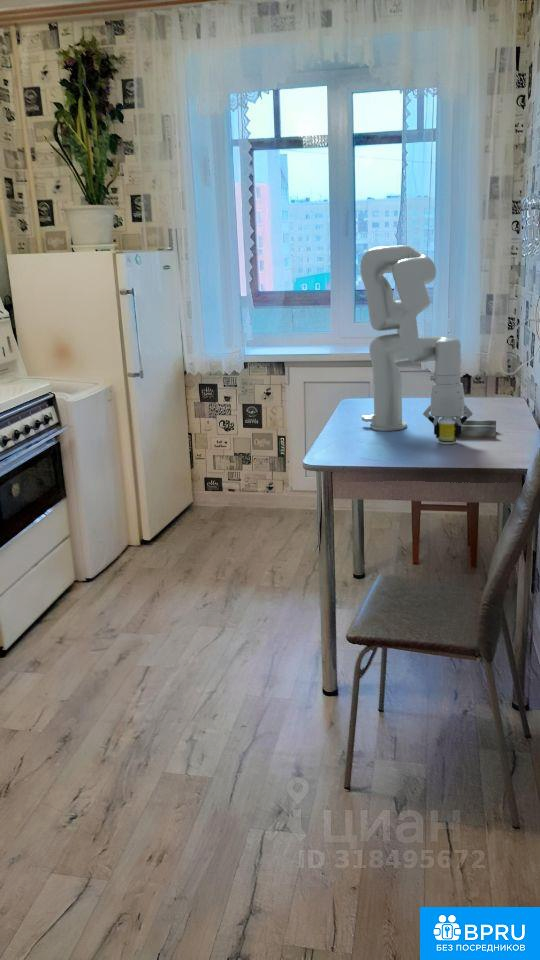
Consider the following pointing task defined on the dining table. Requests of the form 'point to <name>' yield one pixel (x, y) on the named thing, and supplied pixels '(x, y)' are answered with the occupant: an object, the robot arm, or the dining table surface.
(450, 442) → the supplement bottle
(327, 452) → the dining table surface
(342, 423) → the dining table surface
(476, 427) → the track
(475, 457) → the dining table surface
